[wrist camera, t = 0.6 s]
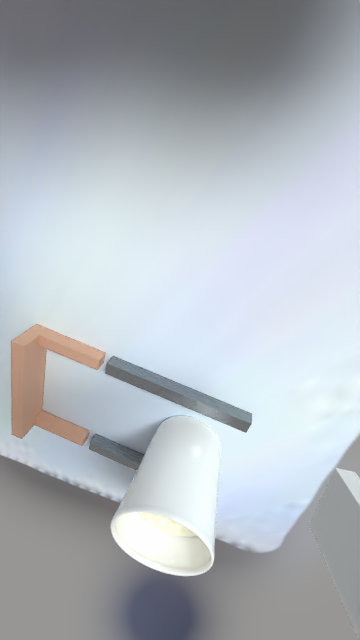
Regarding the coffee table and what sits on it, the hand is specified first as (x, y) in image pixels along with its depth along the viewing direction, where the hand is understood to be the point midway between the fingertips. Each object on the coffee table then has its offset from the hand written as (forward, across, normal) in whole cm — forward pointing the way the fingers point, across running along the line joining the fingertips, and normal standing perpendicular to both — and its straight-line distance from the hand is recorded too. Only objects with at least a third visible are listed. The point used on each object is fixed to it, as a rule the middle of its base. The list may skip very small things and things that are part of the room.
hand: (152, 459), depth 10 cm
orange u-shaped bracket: (+25, -12, -14) cm, 31 cm away
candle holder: (+22, +5, -16) cm, 28 cm away
